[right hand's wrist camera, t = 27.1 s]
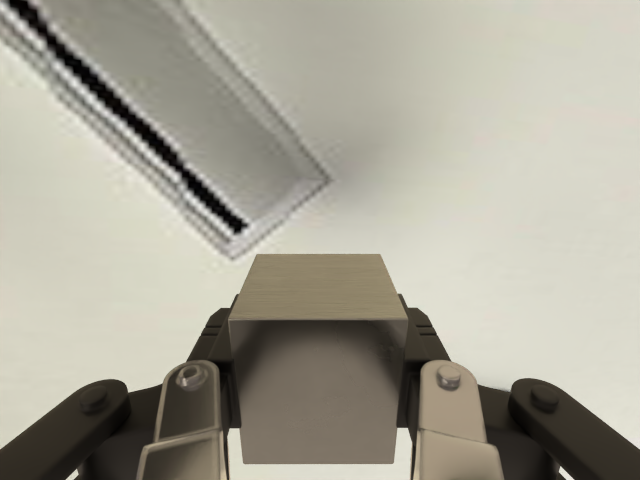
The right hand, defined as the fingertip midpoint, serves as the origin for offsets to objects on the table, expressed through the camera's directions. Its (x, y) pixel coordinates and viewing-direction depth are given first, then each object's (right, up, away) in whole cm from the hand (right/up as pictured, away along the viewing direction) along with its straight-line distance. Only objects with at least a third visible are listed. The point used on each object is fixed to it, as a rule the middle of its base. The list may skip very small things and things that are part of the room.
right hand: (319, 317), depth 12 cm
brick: (0, 0, +1) cm, 1 cm away
